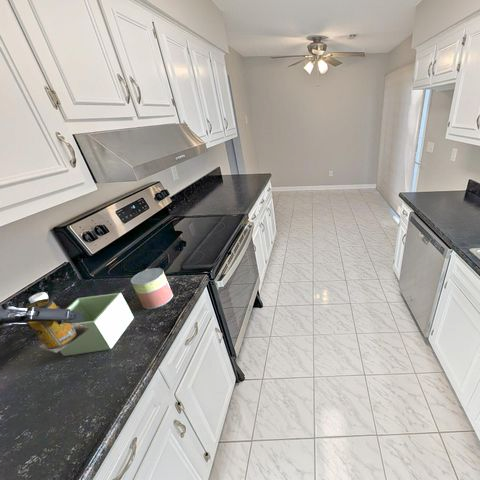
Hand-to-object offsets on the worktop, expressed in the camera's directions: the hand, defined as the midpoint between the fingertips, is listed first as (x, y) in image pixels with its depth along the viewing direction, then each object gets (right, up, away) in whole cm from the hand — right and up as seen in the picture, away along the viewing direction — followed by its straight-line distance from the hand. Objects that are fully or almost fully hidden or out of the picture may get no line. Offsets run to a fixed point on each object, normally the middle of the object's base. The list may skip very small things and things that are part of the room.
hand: (68, 318), depth 69 cm
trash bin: (-8, -12, +20) cm, 25 cm away
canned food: (+1, -3, +36) cm, 37 cm away
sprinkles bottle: (-31, -10, +27) cm, 43 cm away
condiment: (+1, -5, -1) cm, 5 cm away
